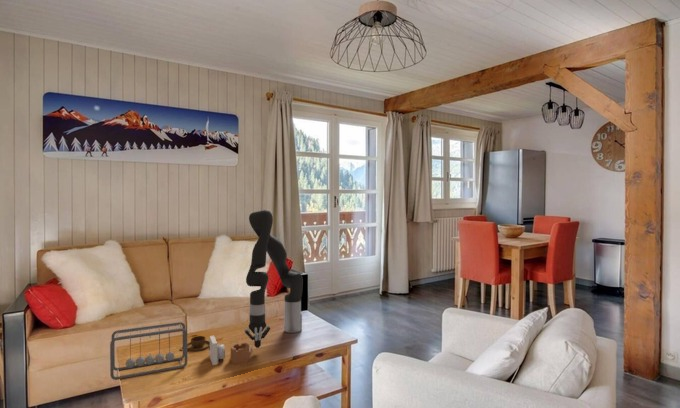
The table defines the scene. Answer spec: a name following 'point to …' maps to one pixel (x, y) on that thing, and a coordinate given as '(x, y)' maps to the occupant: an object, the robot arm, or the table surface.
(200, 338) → the place setting
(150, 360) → the newton's cradle
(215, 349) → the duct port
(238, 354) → the bracket
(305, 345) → the table surface
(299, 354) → the table surface
